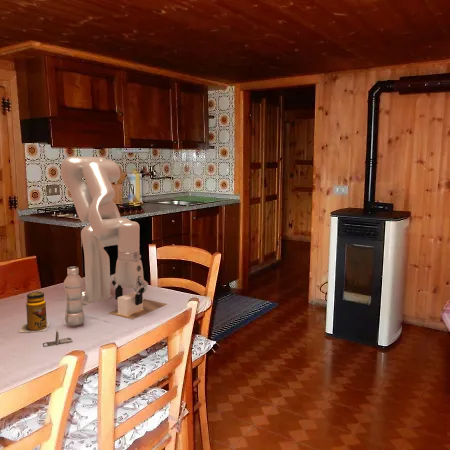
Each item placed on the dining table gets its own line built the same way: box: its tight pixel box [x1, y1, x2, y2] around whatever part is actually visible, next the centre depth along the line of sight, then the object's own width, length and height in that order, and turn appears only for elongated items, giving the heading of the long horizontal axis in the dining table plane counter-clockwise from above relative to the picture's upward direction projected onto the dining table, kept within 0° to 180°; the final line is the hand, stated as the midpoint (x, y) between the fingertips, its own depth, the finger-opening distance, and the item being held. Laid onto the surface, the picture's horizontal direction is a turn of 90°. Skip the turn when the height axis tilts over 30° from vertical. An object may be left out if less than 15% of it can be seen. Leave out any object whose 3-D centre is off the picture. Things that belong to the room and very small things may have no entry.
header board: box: [107, 298, 168, 321], centre depth 164 cm, size 20×12×4 cm, turn 149°
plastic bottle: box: [63, 266, 86, 327], centre depth 150 cm, size 6×7×20 cm
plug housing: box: [117, 291, 143, 316], centre depth 159 cm, size 8×4×6 cm, turn 149°
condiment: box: [18, 291, 50, 333], centre depth 147 cm, size 7×8×12 cm
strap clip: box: [42, 329, 73, 348], centre depth 135 cm, size 8×3×4 cm, turn 117°
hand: (128, 301), depth 160 cm, fingers open, 9 cm apart
